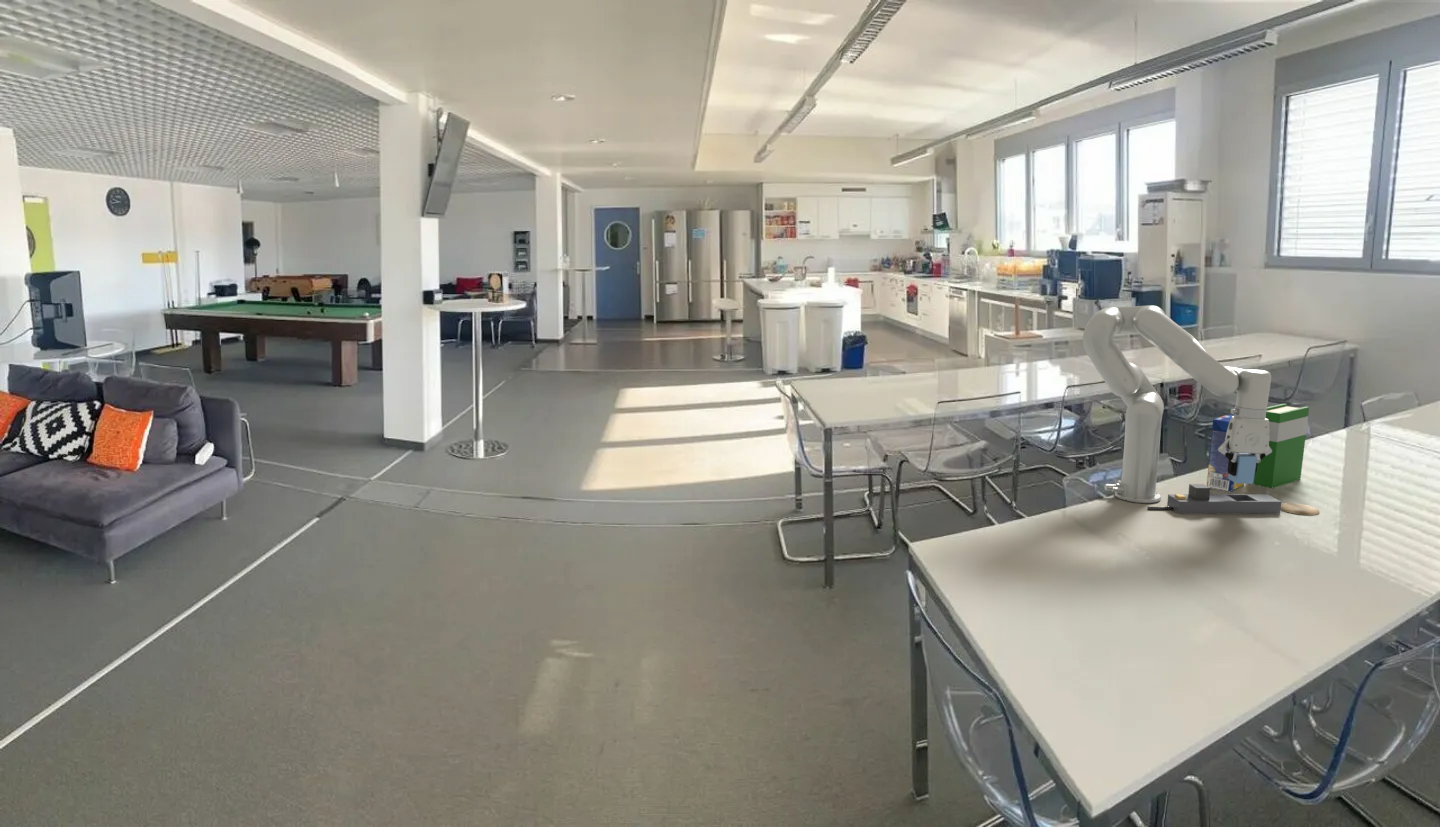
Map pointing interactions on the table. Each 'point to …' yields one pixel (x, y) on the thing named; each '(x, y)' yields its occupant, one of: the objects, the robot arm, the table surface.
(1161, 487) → the table surface
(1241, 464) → the block
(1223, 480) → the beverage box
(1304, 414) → the hardback book
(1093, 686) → the table surface
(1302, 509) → the coaster
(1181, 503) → the power strip
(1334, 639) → the table surface
